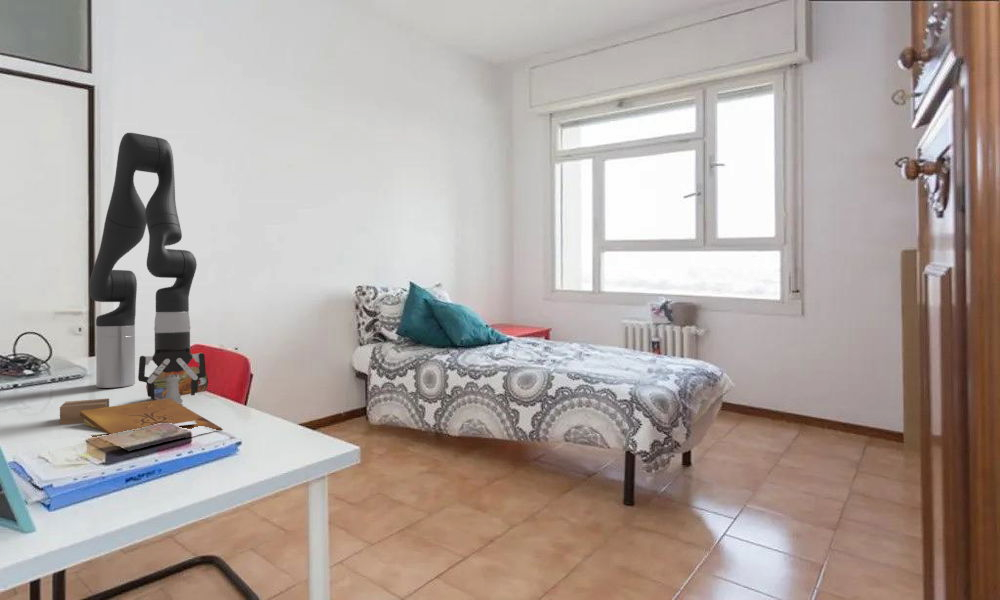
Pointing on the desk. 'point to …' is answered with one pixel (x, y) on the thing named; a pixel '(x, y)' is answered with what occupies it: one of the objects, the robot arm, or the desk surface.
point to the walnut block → (79, 409)
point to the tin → (184, 383)
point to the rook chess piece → (173, 388)
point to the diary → (142, 416)
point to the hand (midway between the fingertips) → (172, 396)
